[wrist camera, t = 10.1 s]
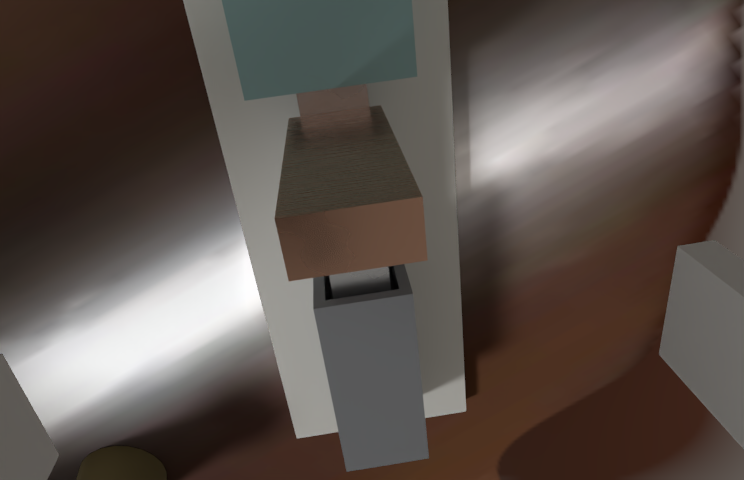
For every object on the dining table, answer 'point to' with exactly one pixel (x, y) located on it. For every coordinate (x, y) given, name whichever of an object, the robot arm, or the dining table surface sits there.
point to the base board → (259, 198)
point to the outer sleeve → (373, 372)
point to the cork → (121, 465)
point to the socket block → (319, 44)
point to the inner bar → (346, 195)
